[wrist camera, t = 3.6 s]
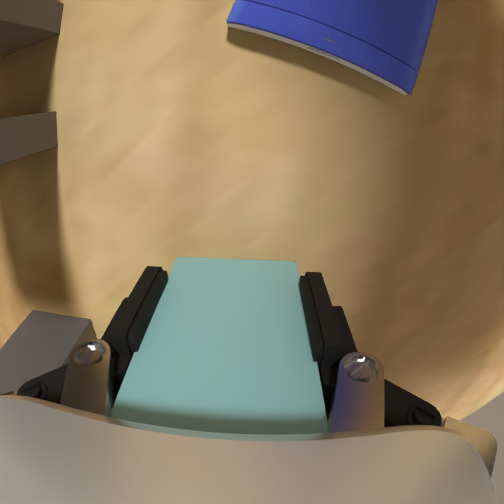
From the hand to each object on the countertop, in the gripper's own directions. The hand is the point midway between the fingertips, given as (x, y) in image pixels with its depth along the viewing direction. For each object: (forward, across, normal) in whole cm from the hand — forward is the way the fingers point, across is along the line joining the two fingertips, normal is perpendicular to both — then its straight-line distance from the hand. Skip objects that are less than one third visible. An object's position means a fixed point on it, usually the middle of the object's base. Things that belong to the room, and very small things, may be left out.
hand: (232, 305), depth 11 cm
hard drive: (+5, -5, -16) cm, 17 cm away
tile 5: (+3, +12, +5) cm, 13 cm away
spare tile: (+2, 0, 0) cm, 2 cm away
